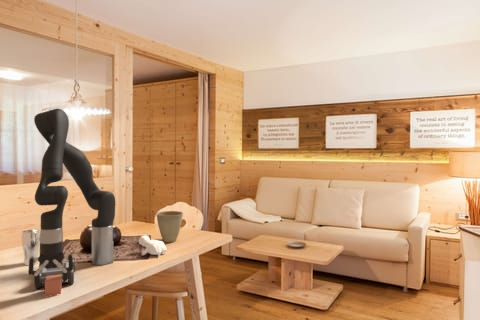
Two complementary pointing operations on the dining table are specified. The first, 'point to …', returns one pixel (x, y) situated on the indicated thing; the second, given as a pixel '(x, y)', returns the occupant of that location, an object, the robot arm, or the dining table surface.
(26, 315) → the dining table surface
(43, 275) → the chassis
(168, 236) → the plant pot
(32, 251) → the beer glass
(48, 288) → the terracotta rectangular box
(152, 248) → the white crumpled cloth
